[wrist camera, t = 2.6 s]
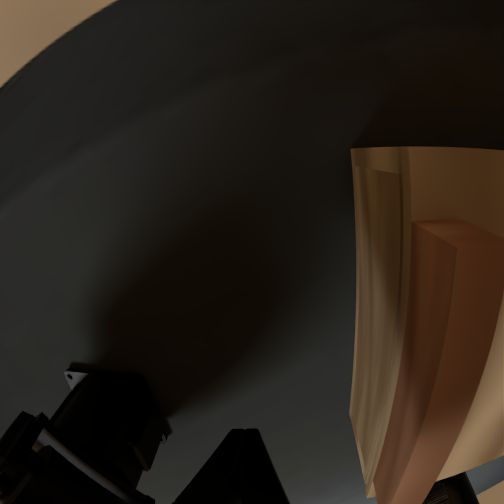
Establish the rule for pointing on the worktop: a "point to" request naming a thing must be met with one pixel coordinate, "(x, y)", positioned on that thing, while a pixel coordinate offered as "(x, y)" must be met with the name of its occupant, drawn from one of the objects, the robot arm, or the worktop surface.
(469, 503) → the supplement bottle
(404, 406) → the mailer lid
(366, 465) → the mailer box
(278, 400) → the worktop surface
